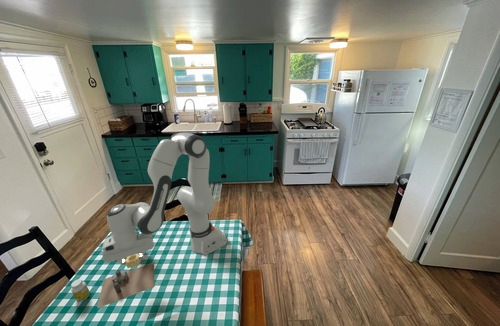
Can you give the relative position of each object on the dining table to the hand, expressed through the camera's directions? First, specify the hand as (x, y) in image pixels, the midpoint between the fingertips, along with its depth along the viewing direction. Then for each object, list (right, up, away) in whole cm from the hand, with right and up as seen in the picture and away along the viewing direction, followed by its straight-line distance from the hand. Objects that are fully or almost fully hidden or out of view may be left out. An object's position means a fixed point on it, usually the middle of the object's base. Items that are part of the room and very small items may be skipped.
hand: (133, 260), depth 96 cm
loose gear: (0, -1, 0) cm, 1 cm away
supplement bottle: (-26, -19, +2) cm, 32 cm away
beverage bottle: (-10, -9, +25) cm, 28 cm away
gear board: (-6, -16, +7) cm, 18 cm away
